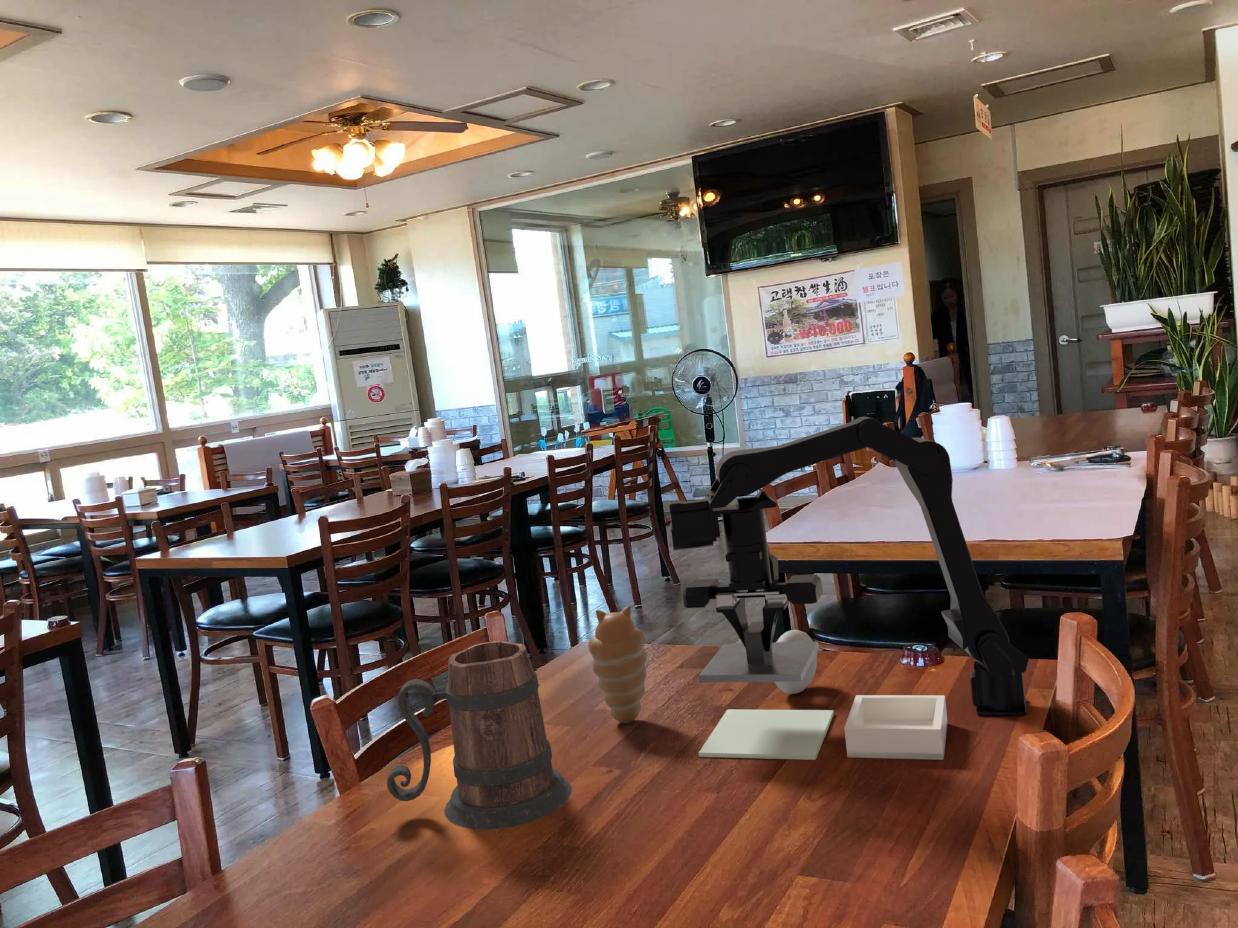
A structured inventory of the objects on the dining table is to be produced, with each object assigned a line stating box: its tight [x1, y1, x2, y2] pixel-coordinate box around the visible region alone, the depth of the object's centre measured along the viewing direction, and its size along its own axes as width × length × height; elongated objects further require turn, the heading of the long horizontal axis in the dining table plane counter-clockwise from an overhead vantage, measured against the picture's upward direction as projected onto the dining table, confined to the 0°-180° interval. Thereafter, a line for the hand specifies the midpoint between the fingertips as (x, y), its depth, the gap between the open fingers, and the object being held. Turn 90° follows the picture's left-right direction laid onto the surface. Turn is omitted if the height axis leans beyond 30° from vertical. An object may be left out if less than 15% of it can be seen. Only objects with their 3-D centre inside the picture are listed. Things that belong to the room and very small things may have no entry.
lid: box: [698, 621, 820, 683], centre depth 139 cm, size 14×14×6 cm
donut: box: [774, 629, 818, 695], centre depth 155 cm, size 10×4×10 cm, turn 135°
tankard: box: [386, 640, 573, 831], centre depth 129 cm, size 24×17×20 cm
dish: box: [844, 694, 949, 761], centre depth 133 cm, size 12×12×4 cm
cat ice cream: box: [587, 605, 648, 724], centre depth 151 cm, size 9×8×18 cm
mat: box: [698, 708, 835, 761], centre depth 140 cm, size 16×16×1 cm
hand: (759, 650), depth 139 cm, fingers closed on lid, 2 cm apart
